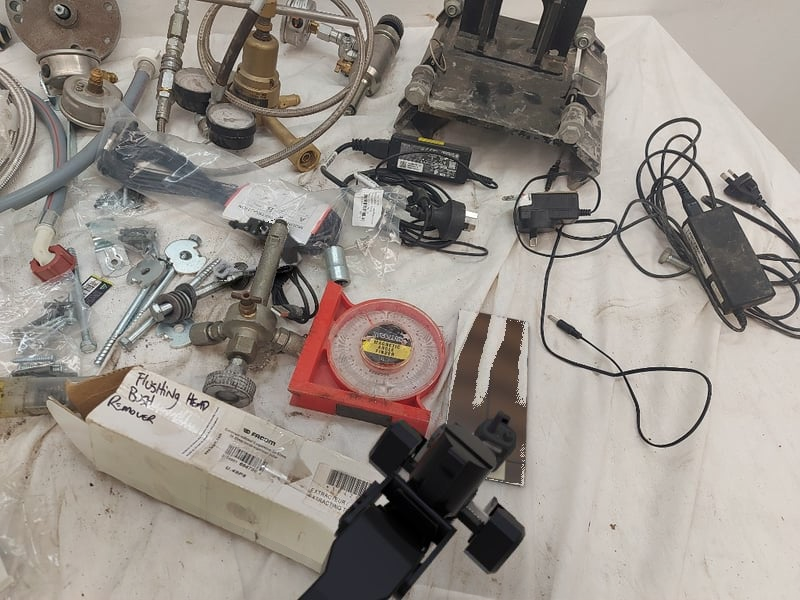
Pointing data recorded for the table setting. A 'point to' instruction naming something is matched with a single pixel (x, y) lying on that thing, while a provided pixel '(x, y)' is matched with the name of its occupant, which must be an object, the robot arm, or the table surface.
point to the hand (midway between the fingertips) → (464, 474)
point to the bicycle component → (253, 227)
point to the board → (492, 391)
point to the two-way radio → (497, 437)
